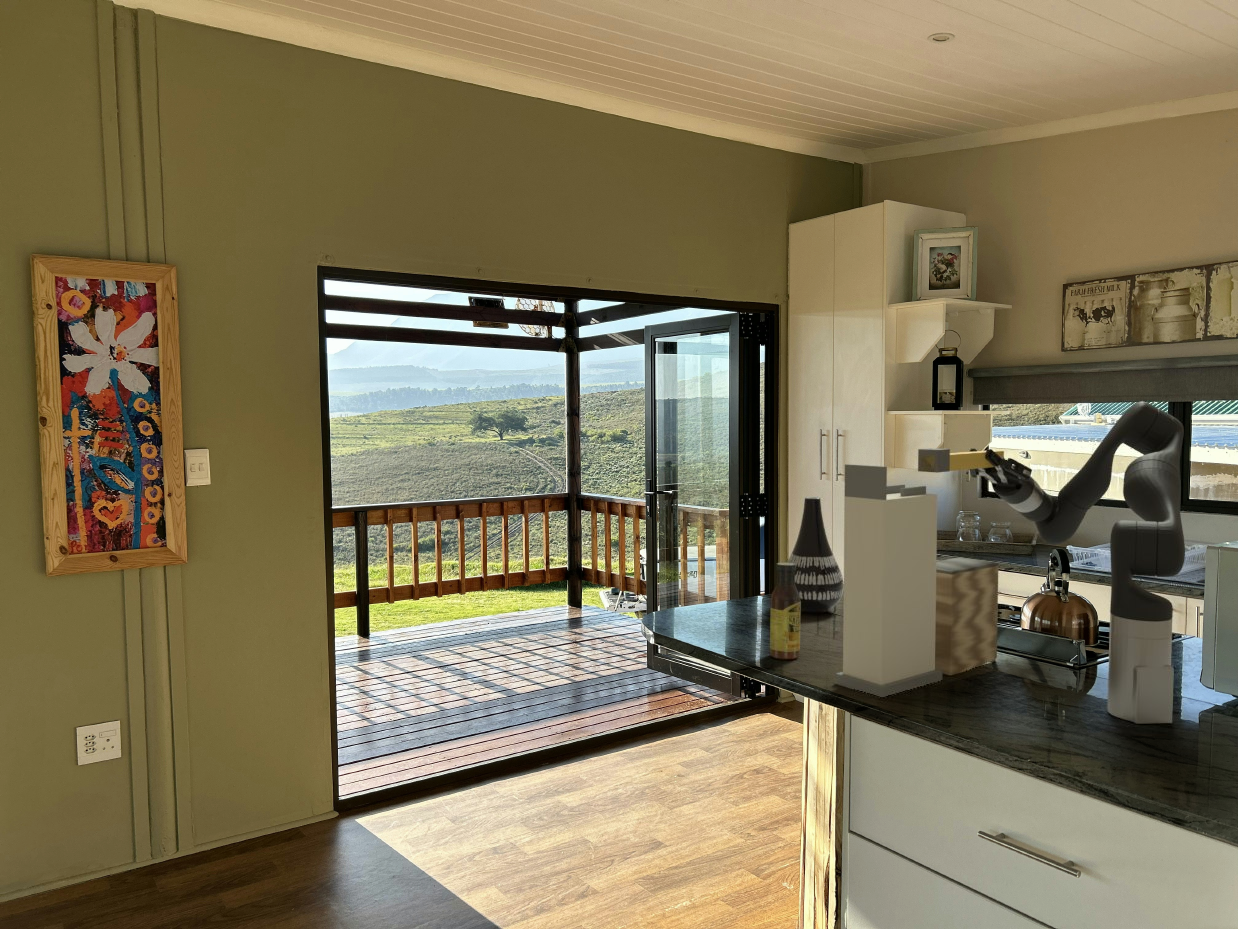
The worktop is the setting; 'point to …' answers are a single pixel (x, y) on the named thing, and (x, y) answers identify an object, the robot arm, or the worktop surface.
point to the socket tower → (888, 584)
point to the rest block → (965, 614)
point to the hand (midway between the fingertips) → (979, 452)
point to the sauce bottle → (785, 614)
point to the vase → (815, 563)
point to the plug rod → (951, 460)
